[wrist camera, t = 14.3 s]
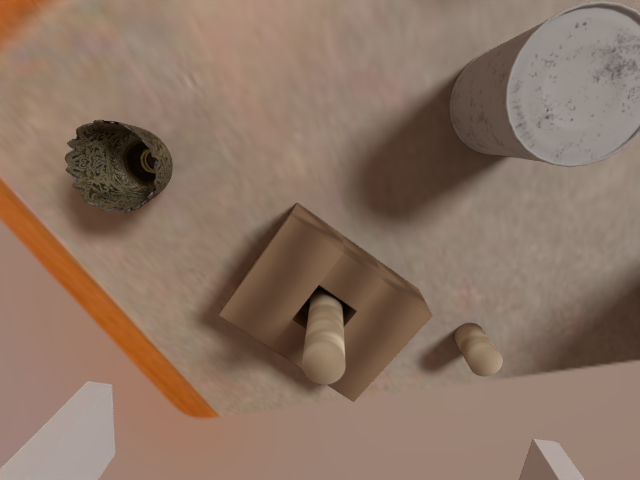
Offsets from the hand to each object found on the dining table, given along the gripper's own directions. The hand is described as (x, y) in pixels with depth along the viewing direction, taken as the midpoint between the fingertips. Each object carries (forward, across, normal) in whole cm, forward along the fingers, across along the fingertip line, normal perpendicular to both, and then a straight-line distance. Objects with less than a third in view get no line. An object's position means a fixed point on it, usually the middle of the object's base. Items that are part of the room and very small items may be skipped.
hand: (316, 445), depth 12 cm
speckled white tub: (+29, -14, -14) cm, 35 cm away
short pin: (+28, -17, +10) cm, 35 cm away
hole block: (+28, 0, +7) cm, 29 cm away
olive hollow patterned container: (+28, +18, -5) cm, 34 cm away
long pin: (+28, 0, +7) cm, 29 cm away
